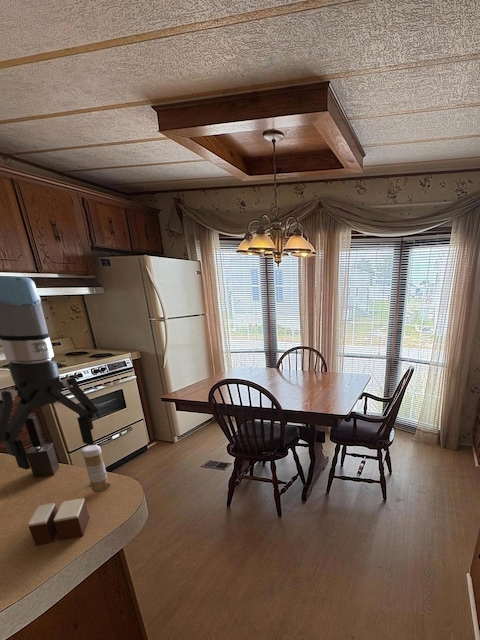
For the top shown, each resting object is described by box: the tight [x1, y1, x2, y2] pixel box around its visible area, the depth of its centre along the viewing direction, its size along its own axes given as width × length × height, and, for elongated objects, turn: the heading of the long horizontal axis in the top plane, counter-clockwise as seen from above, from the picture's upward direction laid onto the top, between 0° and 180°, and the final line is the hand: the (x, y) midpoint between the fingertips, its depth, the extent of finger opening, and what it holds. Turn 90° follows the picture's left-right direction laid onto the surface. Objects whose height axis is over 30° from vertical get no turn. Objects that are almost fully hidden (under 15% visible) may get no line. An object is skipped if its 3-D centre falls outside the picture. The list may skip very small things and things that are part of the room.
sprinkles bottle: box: [81, 444, 110, 492], centre depth 100 cm, size 5×5×14 cm
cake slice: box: [27, 502, 58, 546], centre depth 82 cm, size 8×3×6 cm, turn 23°
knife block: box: [26, 442, 60, 479], centre depth 105 cm, size 6×5×10 cm
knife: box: [24, 414, 45, 451], centre depth 103 cm, size 3×2×20 cm, turn 23°
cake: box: [54, 497, 90, 541], centre depth 84 cm, size 8×5×6 cm, turn 23°
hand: (59, 454), depth 77 cm, fingers open, 13 cm apart
